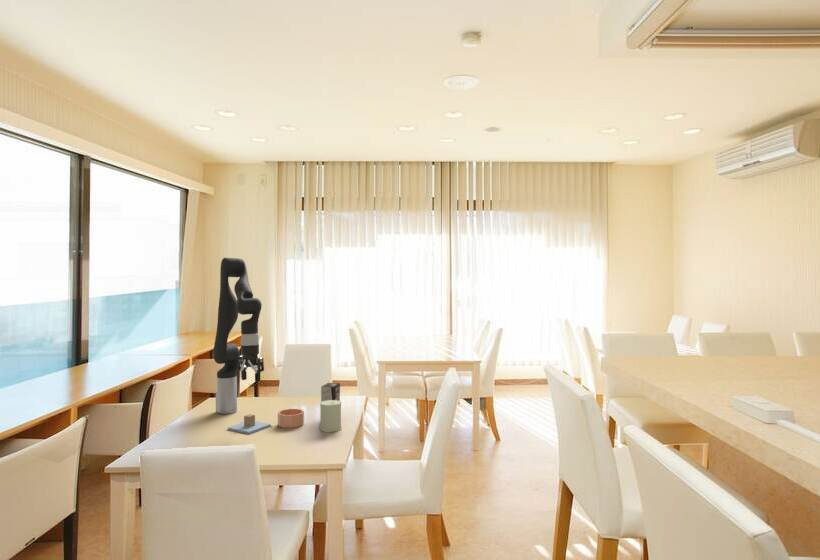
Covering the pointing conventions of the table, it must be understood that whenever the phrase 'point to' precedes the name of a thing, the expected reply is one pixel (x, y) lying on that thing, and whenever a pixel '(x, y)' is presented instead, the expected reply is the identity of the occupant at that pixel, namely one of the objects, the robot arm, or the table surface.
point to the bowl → (290, 418)
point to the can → (330, 415)
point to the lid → (249, 425)
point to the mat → (247, 434)
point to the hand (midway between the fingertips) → (250, 380)
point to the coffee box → (330, 392)
